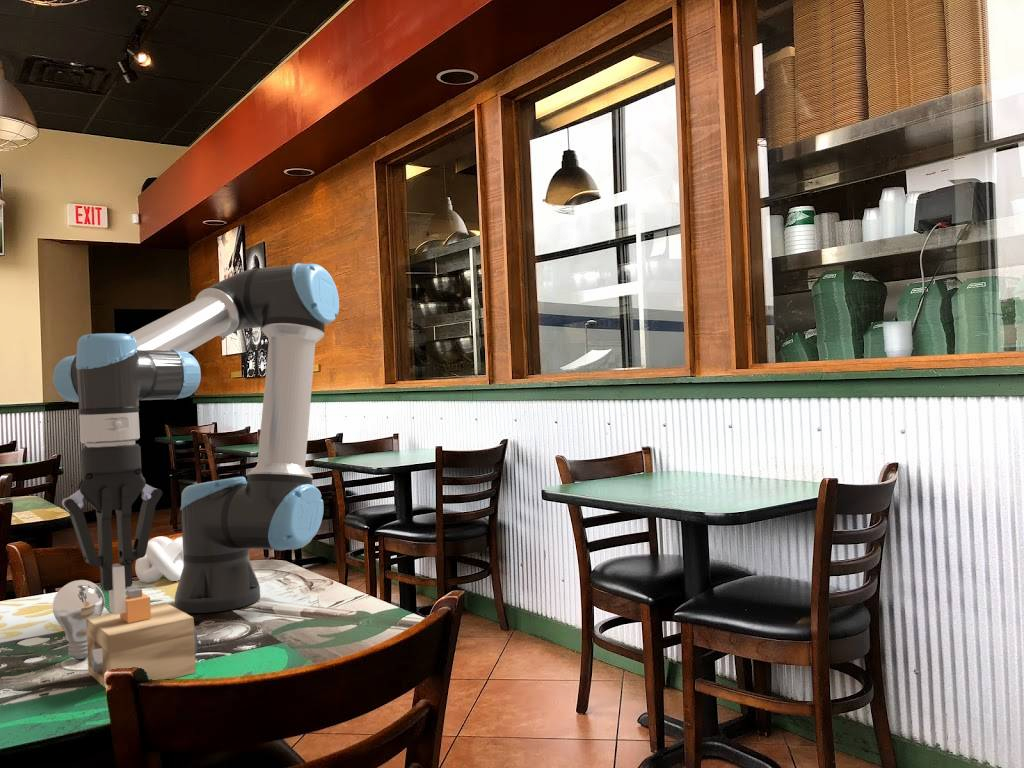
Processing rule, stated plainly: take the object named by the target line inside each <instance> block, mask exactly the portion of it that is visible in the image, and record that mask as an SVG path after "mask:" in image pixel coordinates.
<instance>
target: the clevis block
mask: <svg viewBox="0 0 1024 768" xmlns="http://www.w3.org/2000/svg"><path fill="white" fill-rule="evenodd" d="M150 607H151V618H150V619H146V620H141V621H136V622H131V623H127V622H126V621H124V620H123V619H121V618H120V614H117V615H114V614H113V613H112V612H110V613H105V614H101V615H100V616H95V617H90V618H86V624H87V649H88V657H87V668H88V671H87V672H88V674H89V675H90V676H91V677H93V678H94V679H95V680H96V681H97V682H98V683H99V684H100V685H101V686H102V685H103V686H102V687H103V688H104V673H105V672H106V671H107V670H111V669H116V668H132V667H138V668H142V669H144V670H146V672H147V675H148V677H149V678H150V679H152V680H158V679H169V680H173V679H176V678H180V677H185V676H187V675H192V674H196V672H197V671H196V669H197V667H196V655H195V640H194V626H195V620H194V619H195V618H194V617H193V615H192V616H191V615H190V614H188V613H187V612H182V611H181V610H179V609H177V608H175V606H173V605H172V604H169V603H167V602H161V603H156V604H153V605H152V604H150ZM99 648H102V654H103V670H102V671H98V672H94V670H93V668H92V663H91V652H92V650H94V649H99Z"/></svg>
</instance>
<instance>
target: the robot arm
mask: <svg viewBox="0 0 1024 768" xmlns="http://www.w3.org/2000/svg"><path fill="white" fill-rule="evenodd" d="M338 292H339V291H338V287H337V286H336V283H335V282H334V279H333V277H332V276H331V274H330V273H329V271H327V270H326V269H325V268H324V267H323V266H321V265H320V264H317V263H302V262H299V263H294V264H287V265H286V264H285V265H278V266H270V267H269V266H268V267H257V268H255V267H254V268H251V269H247V270H244V271H241V272H240V271H239V272H238V273H236V274H233V275H231V276H229V277H227V278H224V279H223V280H220V281H219V282H217V283H215V284H213V285H211V286H209V287H207V288H205V289H202V290H201V291H200V292H199V293H198V294H197V295H196V296H195V299H194V300H193V301H191V302H190V303H187V304H186V305H183V306H182V307H180V308H177V309H176V310H173V311H171V312H169V313H167V314H166V315H164V316H162V317H160V318H158V319H156V320H154V321H152V322H150V323H148V324H146V325H144V326H142V327H141V328H139V329H137V330H135V331H132V332H130V333H128V334H127V333H118V332H117V333H116V332H115V333H113V332H111V333H110V332H108V333H89V334H84V335H82V336H81V337H79V339H78V340H77V345H76V354H74V355H70V356H69V355H68V356H66V357H64V358H62V359H60V361H58V363H57V364H56V365H55V368H54V370H53V375H52V380H53V385H54V388H55V390H56V392H57V393H58V395H59V396H60V397H61V398H62V399H64V400H66V401H68V402H72V403H78V410H79V411H78V413H79V417H78V418H79V441H80V443H81V444H85V445H84V446H83V447H82V449H81V450H80V459H81V460H80V461H81V465H80V467H81V479H80V482H79V484H78V487H77V491H76V492H74V493H72V494H71V495H70V496H68V497H63V498H62V499H61V501H60V504H61V506H62V507H63V509H65V510H66V512H67V513H68V514H69V515H70V519H71V520H70V521H71V523H72V526H73V528H74V531H75V534H76V538H77V540H78V544H79V546H80V551H81V553H82V557H83V559H84V562H85V563H87V564H88V565H89V566H92V567H93V566H94V567H98V568H99V573H100V574H99V576H100V588H101V590H103V591H104V592H108V601H109V602H108V603H109V612H110V613H113V614H114V615H117V614H122V613H126V595H127V591H126V588H130V587H132V586H133V584H134V583H133V580H134V579H133V565H134V563H135V562H136V560H137V559H139V558H143V557H144V556H145V555H146V550H147V545H148V541H149V539H150V535H151V530H152V525H153V520H154V517H155V511H156V505H158V502H159V501H160V500H161V497H162V496H163V490H162V489H160V488H155V487H153V486H152V485H149V484H147V483H146V479H145V477H144V476H143V472H142V452H141V446H140V445H139V443H136V441H138V440H139V439H140V438H141V436H140V433H141V432H140V431H141V430H140V417H139V416H140V415H139V413H140V408H139V407H140V402H139V401H153V400H154V401H155V400H174V401H175V400H177V399H184V398H187V397H190V396H192V395H193V394H194V393H195V392H196V391H197V390H198V388H199V386H200V383H201V379H202V375H201V374H202V373H201V366H200V364H199V362H198V360H197V359H196V357H194V356H193V355H192V354H191V353H190V352H192V351H193V350H195V349H197V348H198V347H200V346H202V345H204V344H205V343H208V342H209V341H210V340H212V339H213V338H215V337H226V336H229V335H231V334H233V333H235V332H237V331H240V330H247V329H255V328H257V329H258V328H261V332H262V333H263V334H264V335H265V336H266V337H267V339H268V346H267V360H266V370H265V382H264V389H263V390H264V391H263V402H262V411H261V423H260V432H259V433H260V435H259V442H258V443H259V444H258V455H257V464H256V466H255V467H253V468H252V469H251V470H250V471H248V472H247V476H245V477H244V476H234V477H231V478H230V477H229V478H224V479H219V480H218V479H217V480H213V481H206V482H200V483H195V484H191V485H188V486H186V487H185V488H184V489H183V490H182V492H181V502H180V504H181V505H180V508H179V509H180V510H179V511H180V519H181V522H180V523H181V531H182V532H181V537H182V540H183V557H184V565H183V570H182V573H181V577H180V580H179V581H178V584H177V587H176V589H175V590H176V591H175V595H174V607H175V608H177V609H179V610H181V611H182V612H184V613H186V614H188V613H189V614H209V613H219V612H226V611H231V610H235V609H239V608H240V609H241V608H244V607H246V606H250V605H253V604H254V603H257V601H259V600H260V599H261V586H260V583H259V581H258V578H257V576H256V573H255V570H254V568H253V564H252V562H251V559H250V552H249V551H250V550H249V549H253V550H255V549H256V550H274V551H286V550H298V549H301V548H304V547H305V546H307V545H308V544H309V543H310V542H312V540H313V538H314V537H316V535H317V533H318V531H319V529H320V527H321V524H322V520H323V516H324V500H323V499H322V494H321V493H322V492H321V491H320V490H319V488H318V487H317V486H315V485H313V477H314V476H313V475H312V474H311V473H310V471H308V469H307V468H306V462H307V461H306V459H307V450H308V449H307V448H308V437H309V436H308V434H309V424H310V412H311V399H312V386H313V377H314V365H315V364H314V363H315V352H316V344H317V343H318V342H319V341H320V340H322V339H324V337H325V328H326V325H327V324H328V325H329V324H331V323H333V322H334V321H335V320H336V318H337V317H338V315H339V312H340V297H339V293H338ZM246 477H247V479H246ZM140 494H141V496H140ZM138 497H141V499H142V503H141V505H140V510H139V515H138V520H137V524H136V531H135V535H134V539H132V538H133V537H132V517H131V516H132V513H133V512H132V506H133V505H134V503H135V502H136V500H137V499H138ZM83 499H85V500H86V501H87V502H88V504H89V505H90V506H91V507H92V508H93V509H94V510H95V515H96V524H97V544H98V545H97V547H98V549H97V550H98V551H96V548H95V545H94V542H93V538H92V535H91V532H90V530H89V526H88V522H87V520H86V517H85V514H84V512H83V510H82V508H83V507H84V501H83ZM114 510H115V515H116V528H117V545H118V546H117V549H118V553H117V554H118V560H119V563H114V560H113V559H114V558H113V555H114V554H113V537H112V533H113V532H112V516H113V511H114ZM97 553H98V554H97Z"/></svg>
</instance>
